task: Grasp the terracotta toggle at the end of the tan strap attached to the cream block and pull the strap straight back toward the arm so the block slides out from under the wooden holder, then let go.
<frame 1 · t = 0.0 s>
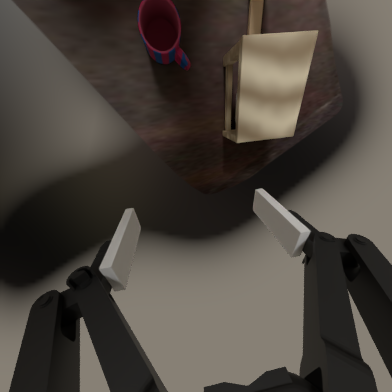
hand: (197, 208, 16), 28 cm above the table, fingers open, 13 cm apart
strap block: (247, 107, 37), on the table
mug: (168, 51, 30), on the table
wooden holder: (247, 97, 36), on the table
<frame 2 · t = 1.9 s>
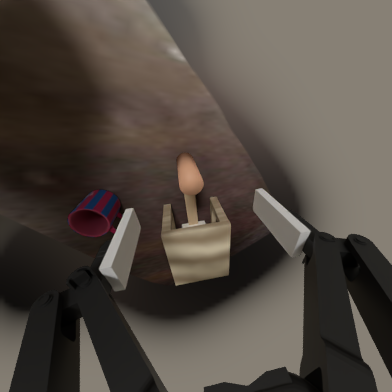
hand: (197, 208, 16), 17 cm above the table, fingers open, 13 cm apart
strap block: (194, 230, 40), on the table
mug: (111, 206, 33), on the table
wooden holder: (193, 225, 39), on the table
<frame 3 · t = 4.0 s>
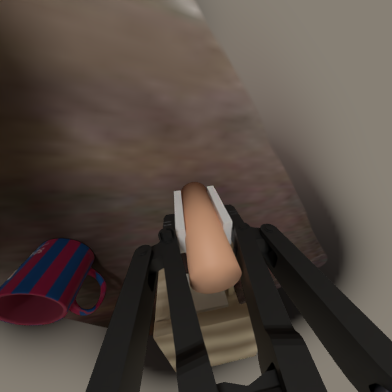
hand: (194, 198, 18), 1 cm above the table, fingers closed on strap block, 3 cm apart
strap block: (203, 279, 29), on the table, touching gripper
mug: (80, 258, 22), on the table
wooden holder: (202, 273, 28), on the table
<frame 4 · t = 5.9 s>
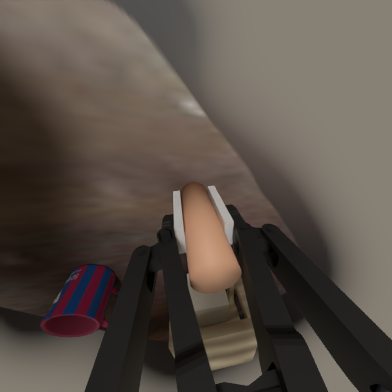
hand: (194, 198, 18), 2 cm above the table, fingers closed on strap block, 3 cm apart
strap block: (203, 279, 29), point 1 cm above the table, touching gripper
mug: (104, 278, 26), on the table
wooden holder: (205, 288, 32), on the table
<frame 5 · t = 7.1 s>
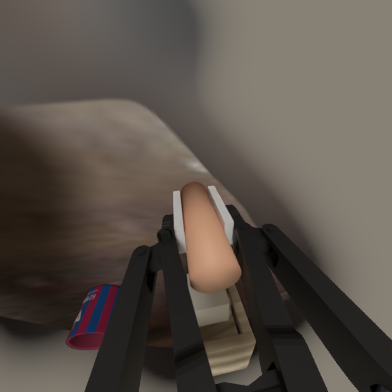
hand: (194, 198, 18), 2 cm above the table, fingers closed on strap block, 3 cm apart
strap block: (204, 279, 29), point 1 cm above the table, touching gripper
mug: (115, 295, 29), on the table
wooden holder: (205, 301, 35), on the table
when the fingers open (1 cm above the table, at t = 8.1 s): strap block stays where it is, on the table.
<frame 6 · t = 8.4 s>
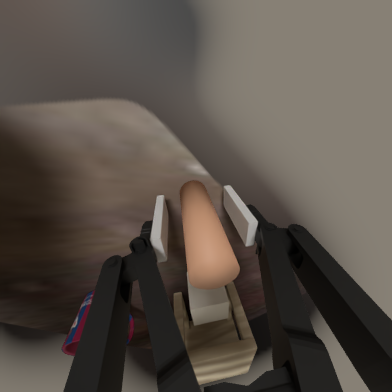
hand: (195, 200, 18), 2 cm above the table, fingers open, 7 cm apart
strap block: (203, 278, 29), on the table
mug: (113, 299, 29), on the table
wooden holder: (205, 305, 35), on the table
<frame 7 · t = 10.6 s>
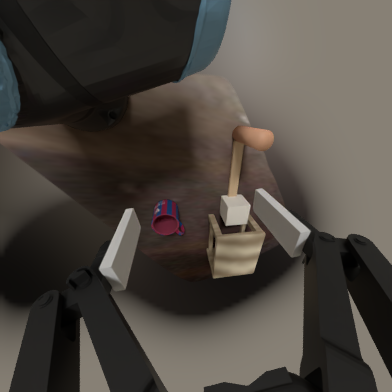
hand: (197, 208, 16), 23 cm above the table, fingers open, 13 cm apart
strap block: (230, 204, 44), on the table
mug: (170, 212, 43), on the table
wooden holder: (225, 232, 50), on the table
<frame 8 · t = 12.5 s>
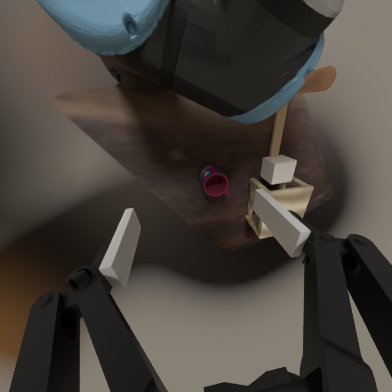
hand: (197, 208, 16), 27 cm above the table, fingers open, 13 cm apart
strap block: (270, 165, 45), on the table
mug: (213, 178, 45), on the table
wooden holder: (264, 196, 51), on the table
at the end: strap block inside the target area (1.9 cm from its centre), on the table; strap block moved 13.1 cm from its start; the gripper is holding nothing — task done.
